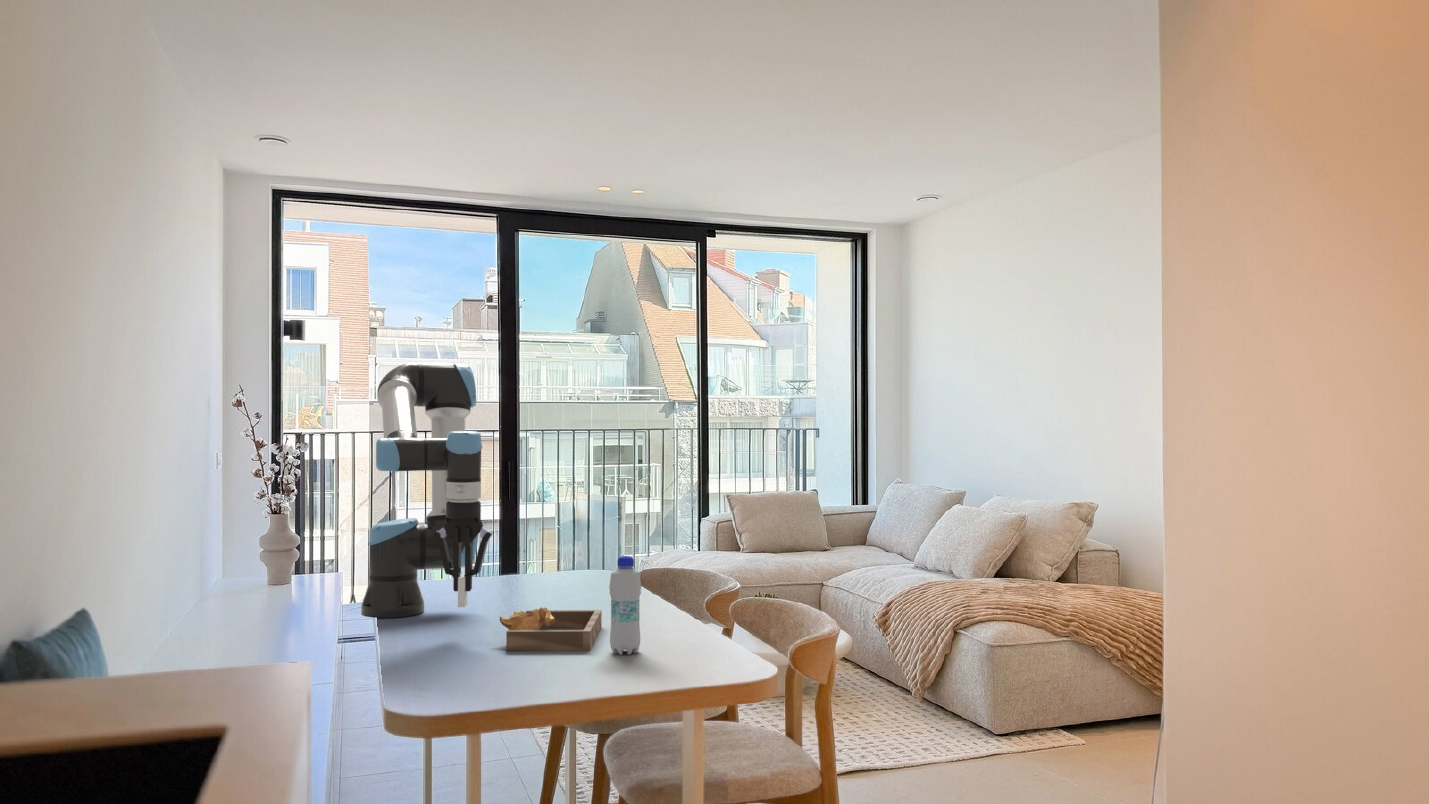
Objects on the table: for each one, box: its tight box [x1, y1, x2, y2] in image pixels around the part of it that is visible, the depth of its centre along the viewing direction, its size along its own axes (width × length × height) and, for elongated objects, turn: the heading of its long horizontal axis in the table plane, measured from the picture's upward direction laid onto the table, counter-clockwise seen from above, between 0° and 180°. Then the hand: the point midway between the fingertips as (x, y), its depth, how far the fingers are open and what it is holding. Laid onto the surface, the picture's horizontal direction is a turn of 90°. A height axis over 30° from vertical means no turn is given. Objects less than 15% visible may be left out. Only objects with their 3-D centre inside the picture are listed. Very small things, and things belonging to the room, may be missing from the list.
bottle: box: [608, 555, 642, 656], centre depth 204 cm, size 7×7×20 cm
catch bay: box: [505, 609, 603, 652], centre depth 217 cm, size 24×18×4 cm
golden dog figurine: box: [499, 607, 555, 630], centre depth 212 cm, size 12×10×8 cm
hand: (462, 605), depth 219 cm, fingers closed
